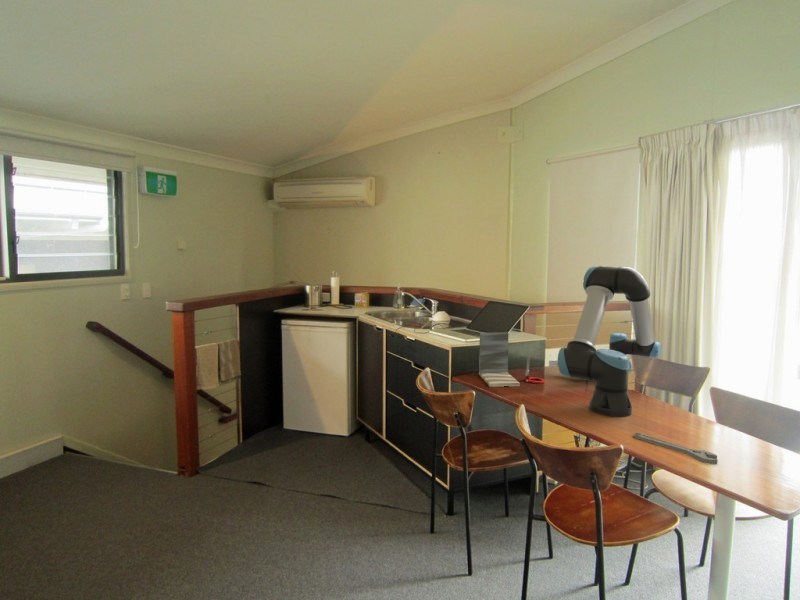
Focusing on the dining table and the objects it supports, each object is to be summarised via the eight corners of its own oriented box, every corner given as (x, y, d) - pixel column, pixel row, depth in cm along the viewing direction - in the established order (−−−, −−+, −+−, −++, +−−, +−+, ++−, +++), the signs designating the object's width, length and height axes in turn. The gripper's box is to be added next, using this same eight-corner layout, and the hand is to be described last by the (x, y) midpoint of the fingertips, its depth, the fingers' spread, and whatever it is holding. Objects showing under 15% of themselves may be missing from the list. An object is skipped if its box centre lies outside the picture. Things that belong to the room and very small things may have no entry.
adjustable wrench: (631, 438, 158) (631, 433, 158) (642, 434, 161) (642, 429, 161) (711, 466, 137) (712, 460, 136) (723, 461, 140) (723, 455, 140)
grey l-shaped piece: (519, 386, 217) (520, 340, 215) (489, 386, 217) (490, 340, 214) (506, 374, 239) (507, 332, 237) (479, 374, 238) (479, 332, 236)
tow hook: (544, 380, 229) (524, 378, 231) (546, 354, 227) (526, 352, 230) (545, 385, 221) (525, 383, 223) (547, 358, 219) (527, 356, 221)
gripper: (610, 380, 215) (564, 381, 214) (585, 367, 240) (544, 367, 239) (610, 364, 214) (565, 365, 213) (586, 352, 239) (545, 353, 238)
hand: (554, 366), depth 226 cm, fingers open, 13 cm apart
